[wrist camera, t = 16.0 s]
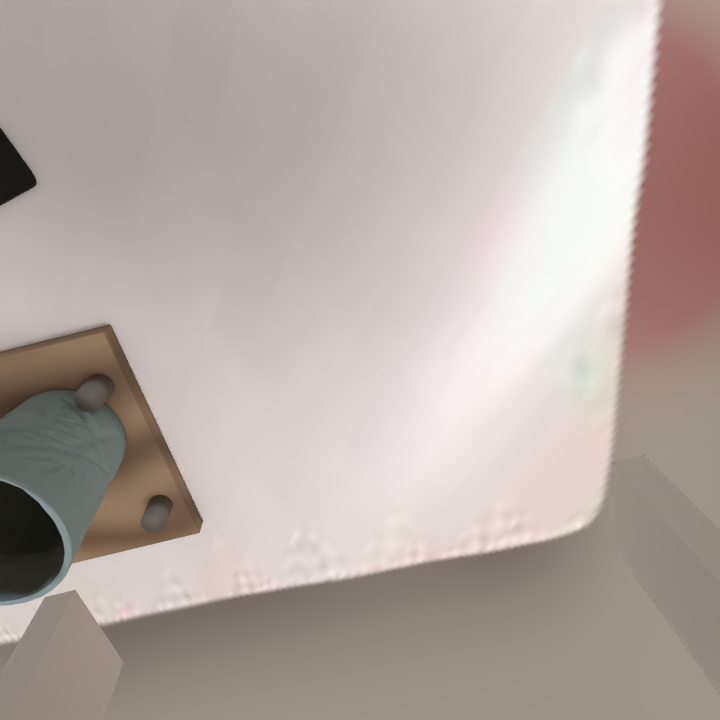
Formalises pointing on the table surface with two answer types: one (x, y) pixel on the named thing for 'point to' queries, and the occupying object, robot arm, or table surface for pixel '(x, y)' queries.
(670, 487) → the robot arm
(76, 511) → the green cup
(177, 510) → the plate
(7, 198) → the cell phone
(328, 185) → the table surface
